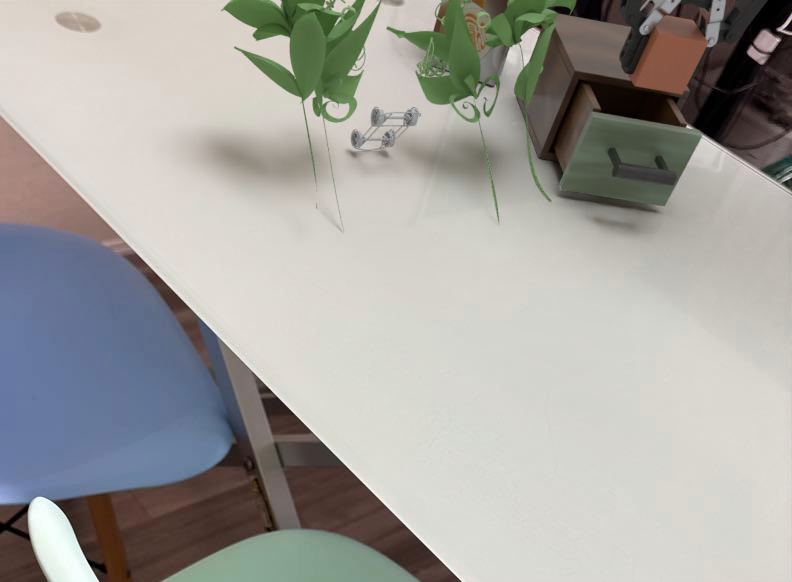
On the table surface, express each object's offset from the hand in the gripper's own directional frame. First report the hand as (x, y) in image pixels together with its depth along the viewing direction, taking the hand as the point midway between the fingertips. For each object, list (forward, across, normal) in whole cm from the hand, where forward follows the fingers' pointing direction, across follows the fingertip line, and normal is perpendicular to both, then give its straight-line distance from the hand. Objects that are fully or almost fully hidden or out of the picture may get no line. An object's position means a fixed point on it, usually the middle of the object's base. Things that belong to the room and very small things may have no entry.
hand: (653, 74), depth 96 cm
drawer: (+11, 0, +1) cm, 11 cm away
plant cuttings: (+12, -24, -6) cm, 28 cm away
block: (0, 0, 0) cm, 0 cm away
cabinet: (+12, 0, +11) cm, 16 cm away
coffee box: (+12, -12, +24) cm, 30 cm away
